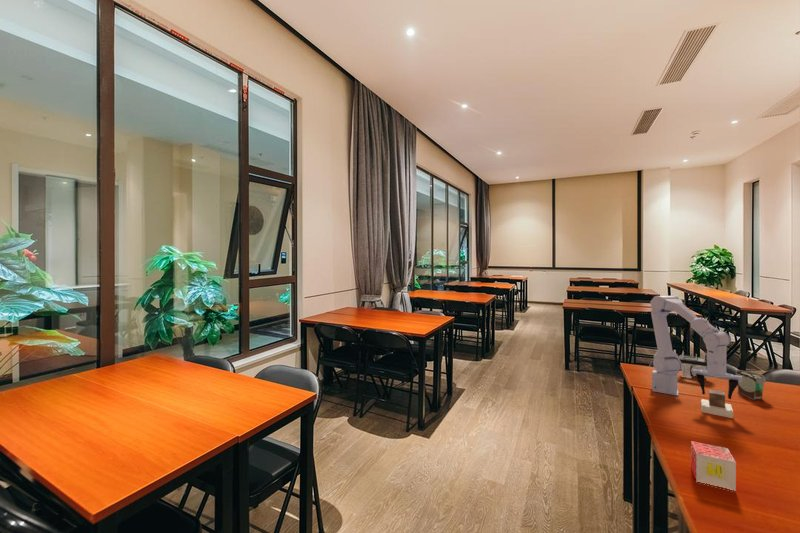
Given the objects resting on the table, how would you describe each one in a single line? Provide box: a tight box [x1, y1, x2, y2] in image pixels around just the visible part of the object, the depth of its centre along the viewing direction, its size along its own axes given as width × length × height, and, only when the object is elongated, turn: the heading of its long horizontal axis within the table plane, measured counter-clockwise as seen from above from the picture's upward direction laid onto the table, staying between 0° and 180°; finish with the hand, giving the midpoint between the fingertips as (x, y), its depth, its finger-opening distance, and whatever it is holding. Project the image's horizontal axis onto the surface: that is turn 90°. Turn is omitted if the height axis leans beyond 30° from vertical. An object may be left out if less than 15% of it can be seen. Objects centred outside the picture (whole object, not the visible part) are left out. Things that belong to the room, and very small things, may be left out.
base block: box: [700, 398, 734, 419], centre depth 139 cm, size 9×9×3 cm
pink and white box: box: [690, 440, 737, 492], centre depth 96 cm, size 8×8×8 cm
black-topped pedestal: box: [678, 351, 707, 379], centre depth 179 cm, size 28×26×13 cm
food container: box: [735, 369, 767, 401], centre depth 154 cm, size 12×6×10 cm, turn 168°
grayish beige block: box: [708, 389, 726, 408], centre depth 139 cm, size 5×5×5 cm
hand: (716, 395), depth 139 cm, fingers open, 7 cm apart
